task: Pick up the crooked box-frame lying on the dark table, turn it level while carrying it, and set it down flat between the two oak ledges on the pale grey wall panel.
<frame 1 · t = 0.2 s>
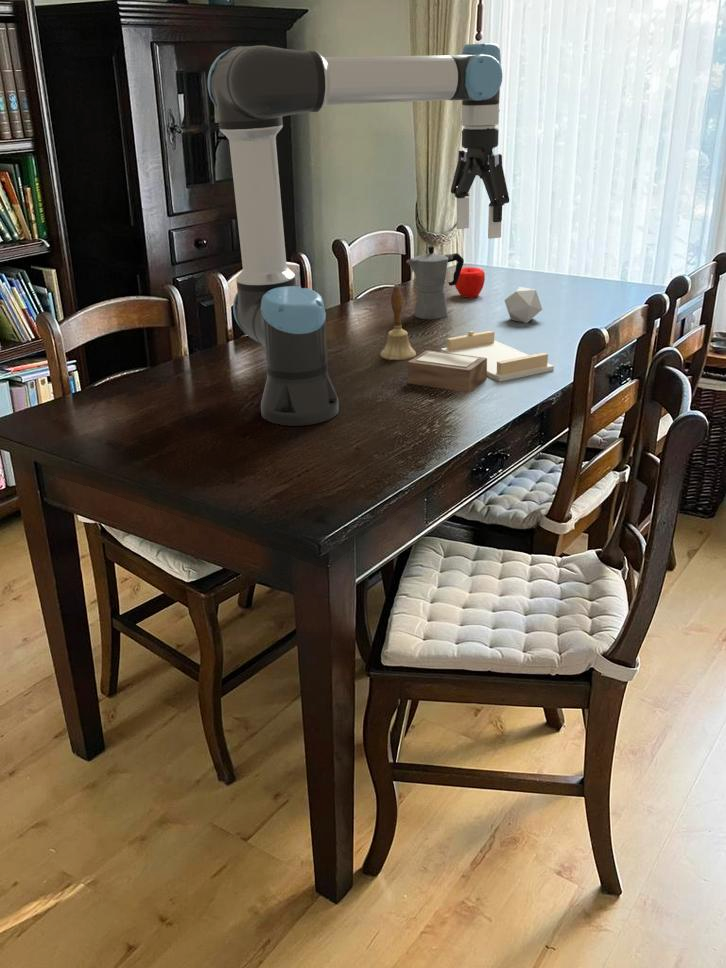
hand: (478, 233, 193), 27 cm above the table, tool pointing down, fingers open, 13 cm apart
frame: (447, 382, 190), on the table
apple: (468, 297, 255), on the table
wall panel: (495, 361, 201), on the table
coffeepot: (435, 315, 239), on the table
die: (522, 320, 231), on the table
hand bell: (398, 355, 208), on the table
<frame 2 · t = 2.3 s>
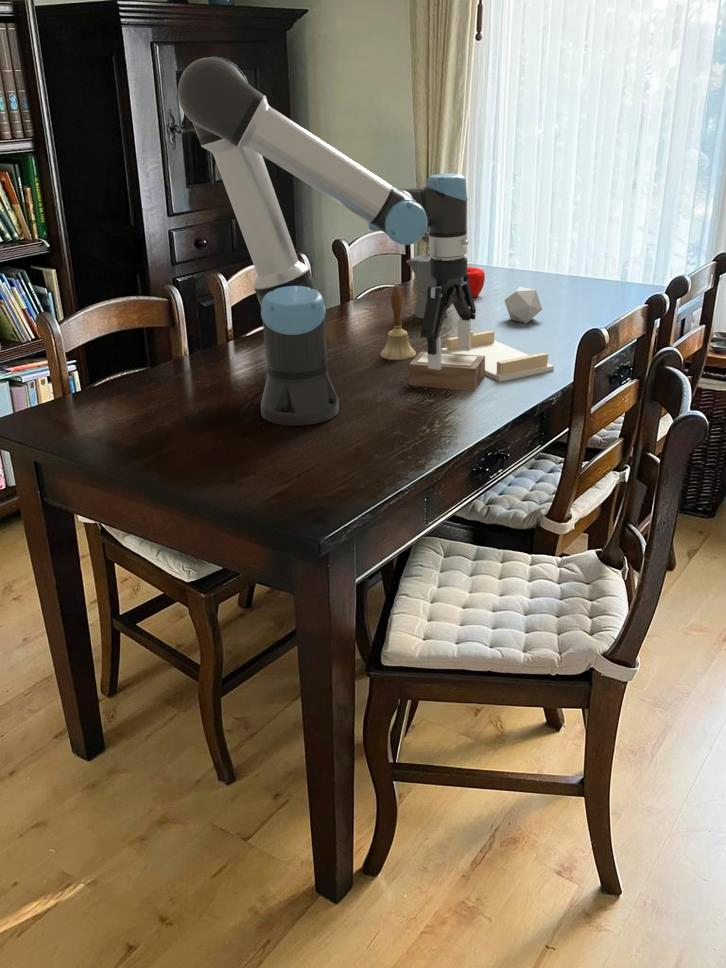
hand: (449, 359, 188), 5 cm above the table, tool pointing down, fingers open, 13 cm apart
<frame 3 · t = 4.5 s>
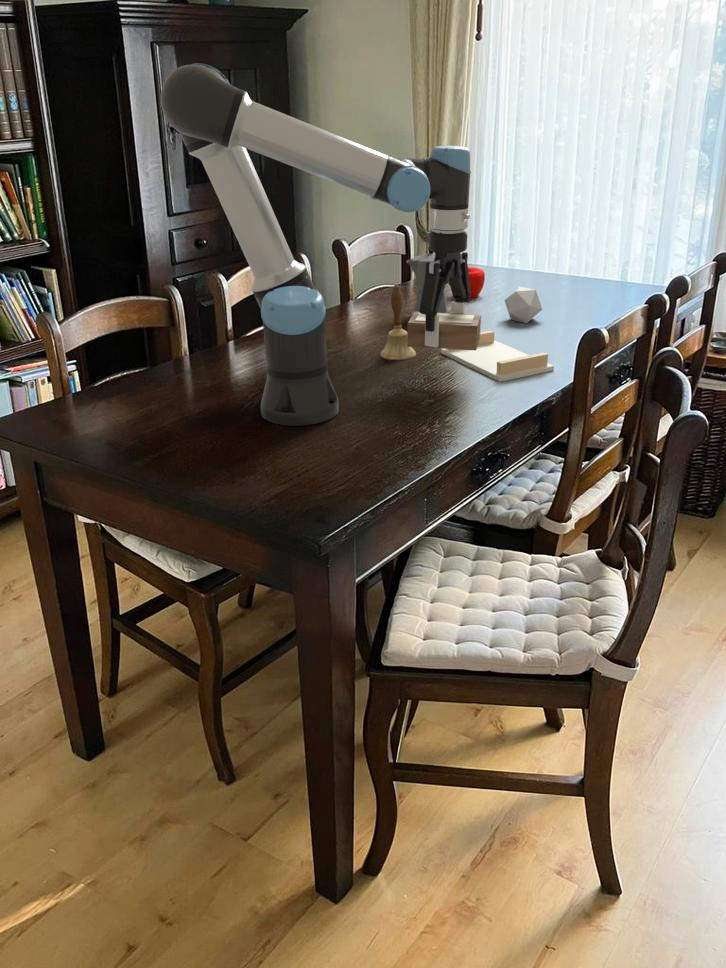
hand: (444, 339, 186), 9 cm above the table, tool pointing down, fingers closed on frame, 11 cm apart
frame: (444, 342, 186), point 8 cm above the table, touching gripper
everything else where it was.
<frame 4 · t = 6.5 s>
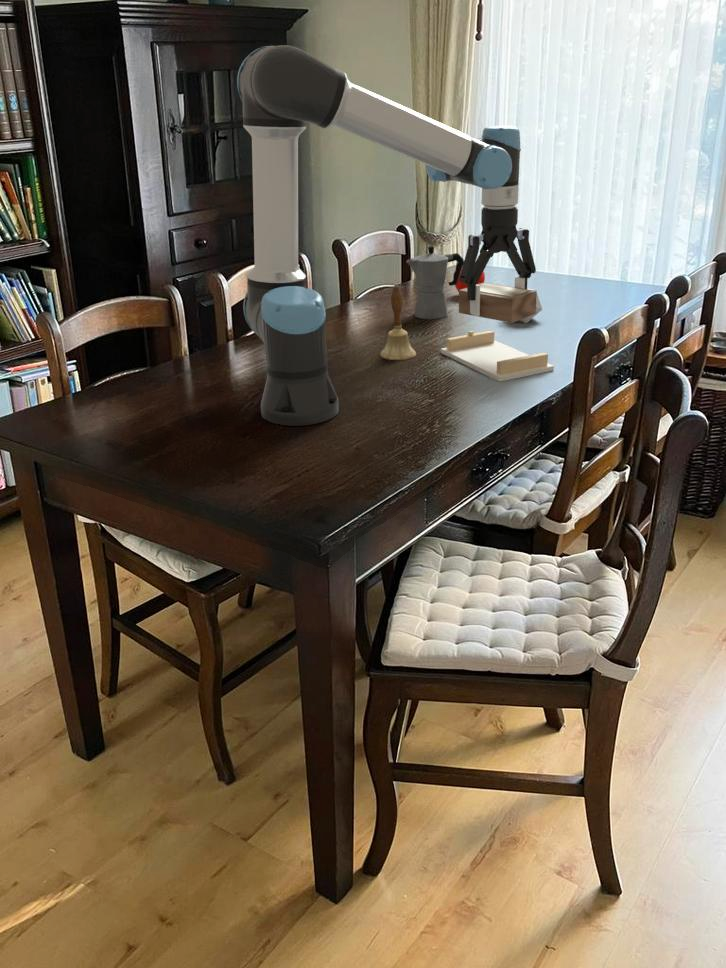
hand: (497, 310, 196), 11 cm above the table, tool pointing down, fingers closed on frame, 11 cm apart
frame: (496, 313, 196), point 11 cm above the table, touching gripper
everything else where it was.
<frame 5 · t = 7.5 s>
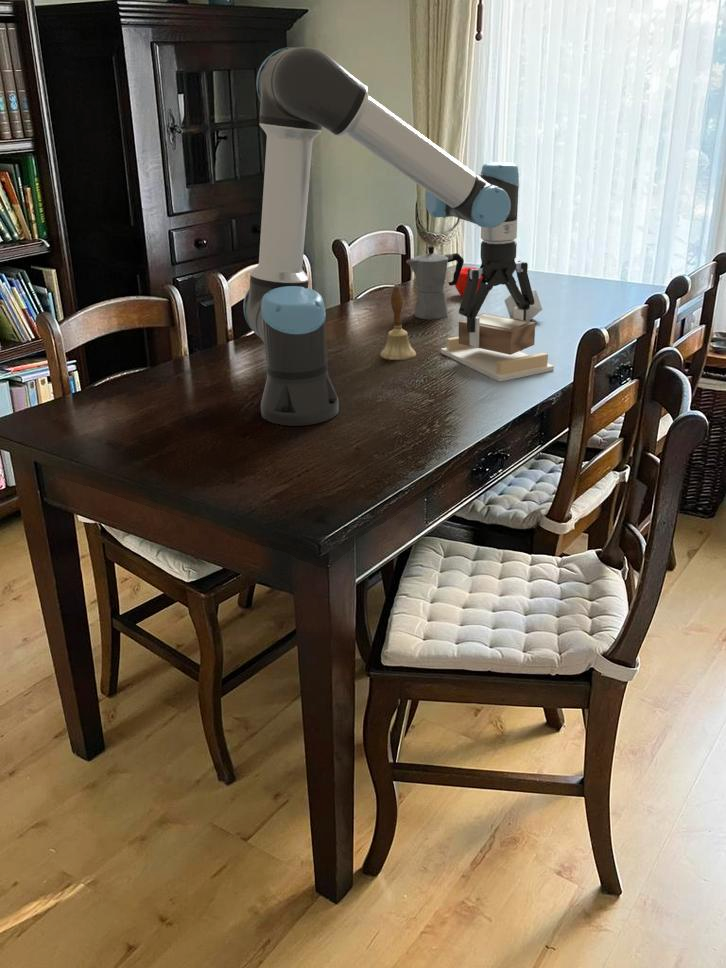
hand: (496, 341, 199), 4 cm above the table, tool pointing down, fingers closed on frame, 11 cm apart
frame: (496, 344, 199), point 4 cm above the table, touching gripper
everything else where it was.
when the fingers open (2 cm above the table, at t = 8.6 s): frame stays where it is, resting on wall panel.
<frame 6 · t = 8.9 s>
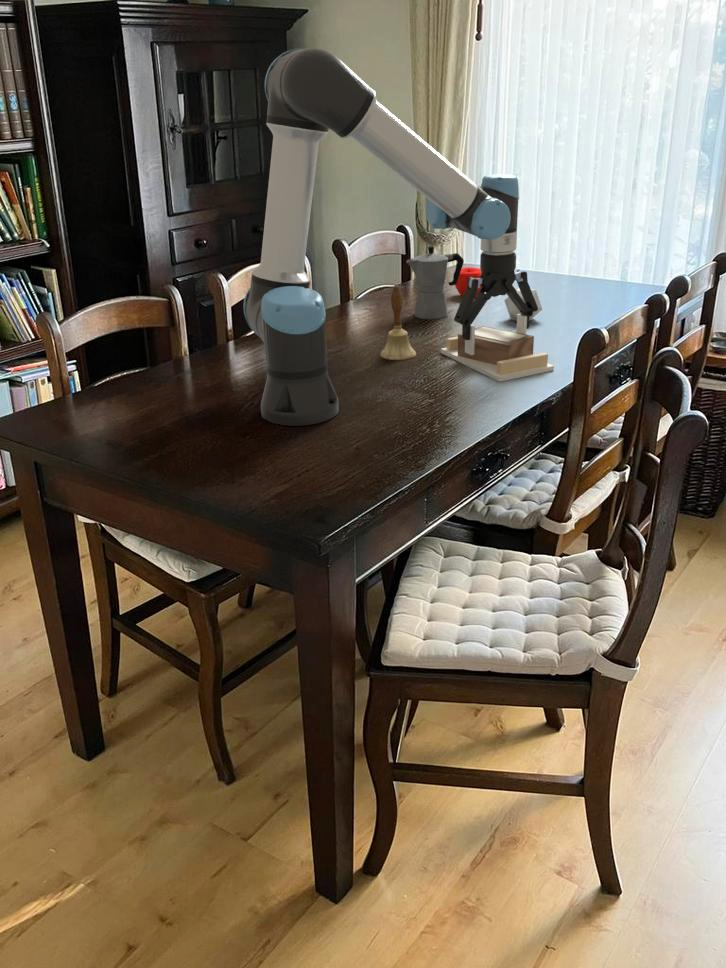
hand: (495, 348, 199), 3 cm above the table, tool pointing down, fingers open, 13 cm apart
frame: (495, 356, 200), point 1 cm above the table, touching wall panel
everything else where it was.
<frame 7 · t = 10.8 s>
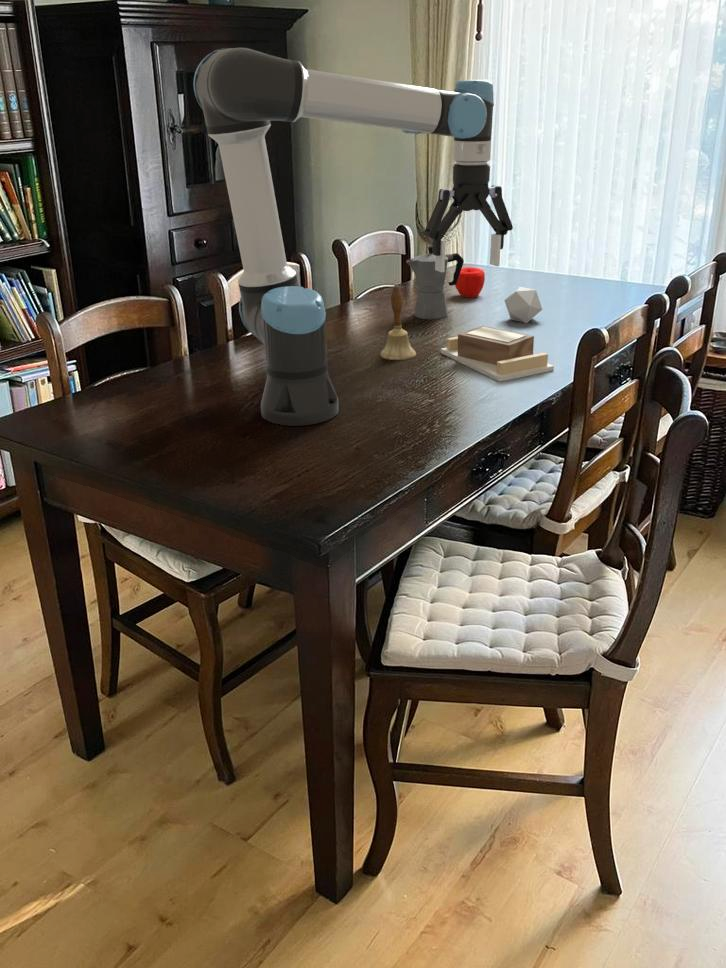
hand: (467, 268, 192), 21 cm above the table, tool pointing down, fingers open, 13 cm apart
nothing on the table moved.
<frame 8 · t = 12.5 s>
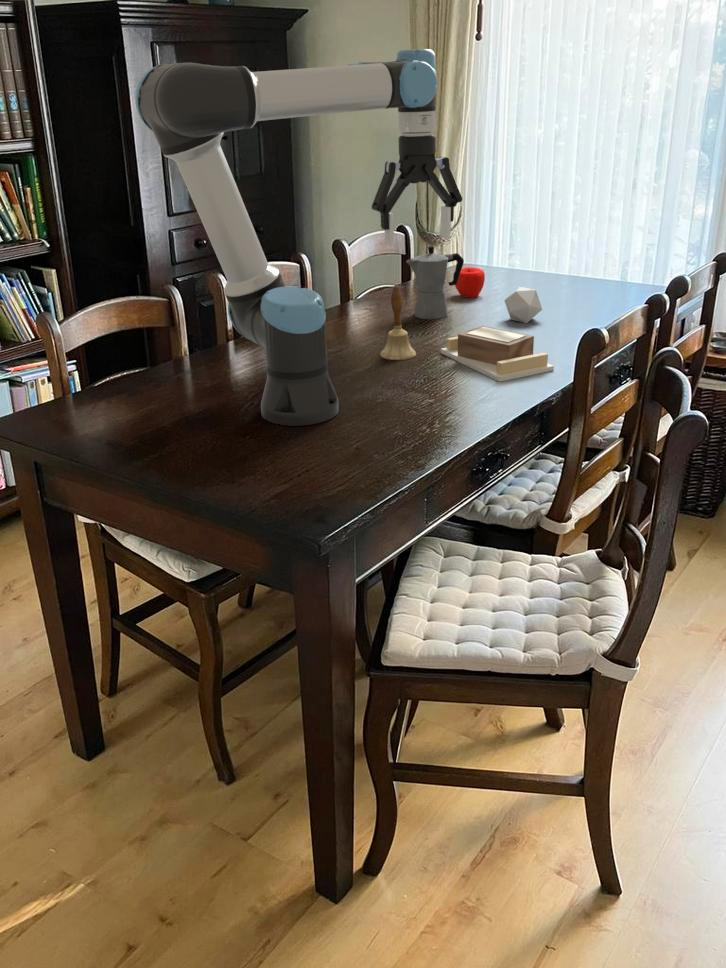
hand: (417, 241, 190), 27 cm above the table, tool pointing down, fingers open, 13 cm apart
nothing on the table moved.
at the end: frame inside the target area on the wall panel (0.1 cm from its centre), point 1.0 cm above the wall panel's base; frame tilted 0°; the gripper is holding nothing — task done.
